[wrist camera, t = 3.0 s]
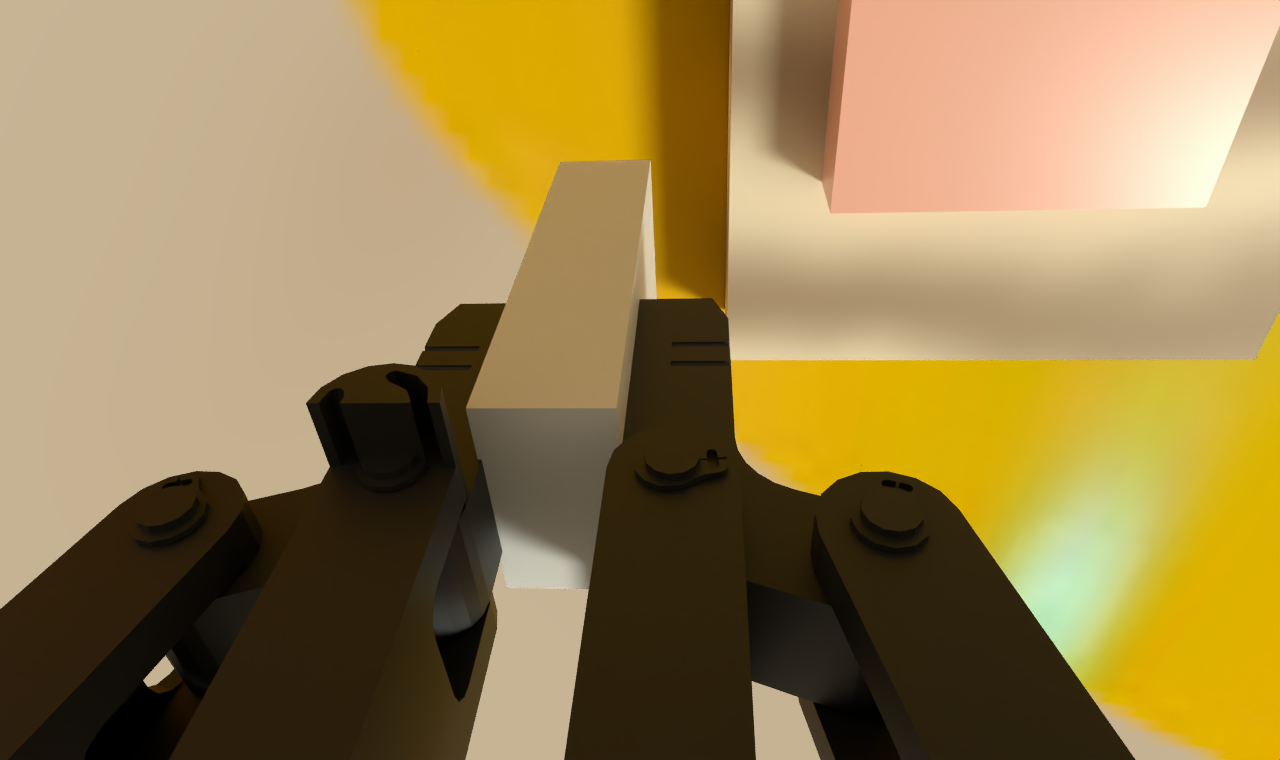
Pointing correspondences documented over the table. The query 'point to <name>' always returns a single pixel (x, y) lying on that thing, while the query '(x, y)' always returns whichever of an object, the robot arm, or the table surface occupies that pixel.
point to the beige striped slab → (975, 241)
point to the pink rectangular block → (1037, 102)
